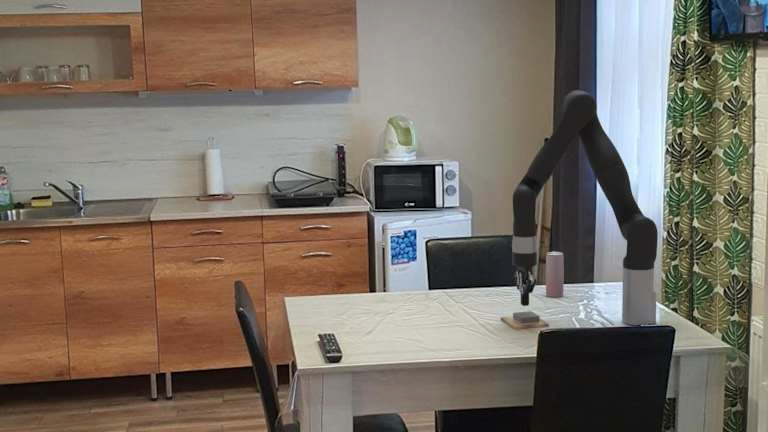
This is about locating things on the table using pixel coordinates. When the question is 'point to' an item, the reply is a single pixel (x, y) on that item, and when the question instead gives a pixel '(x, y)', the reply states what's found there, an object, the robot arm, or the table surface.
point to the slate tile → (526, 318)
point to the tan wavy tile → (517, 326)
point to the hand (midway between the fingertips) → (524, 305)
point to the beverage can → (554, 274)
